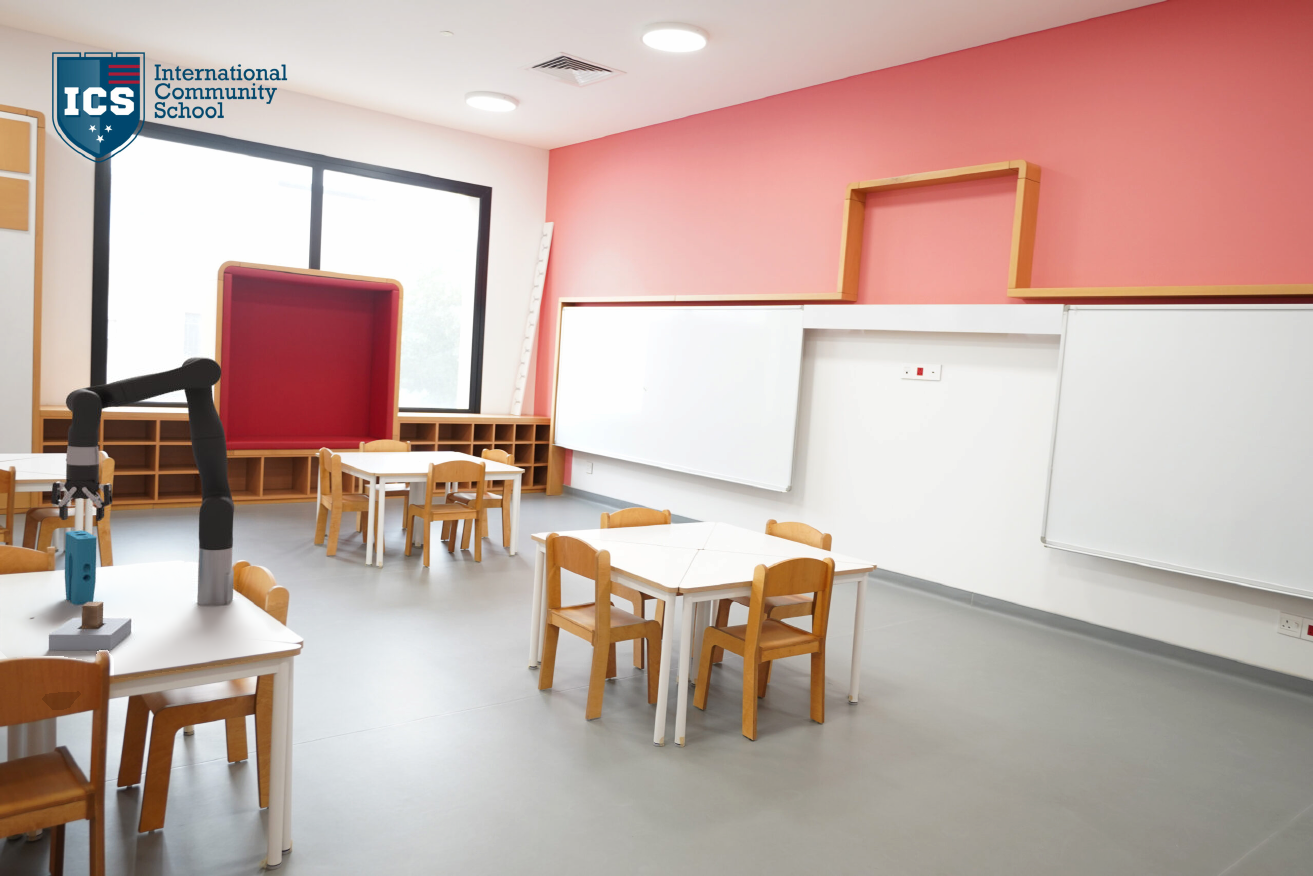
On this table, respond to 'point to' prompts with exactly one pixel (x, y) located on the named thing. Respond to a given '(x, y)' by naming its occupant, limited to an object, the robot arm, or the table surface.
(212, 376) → the robot arm
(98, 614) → the walnut peg
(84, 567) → the block
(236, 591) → the table surface
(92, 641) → the socket block
